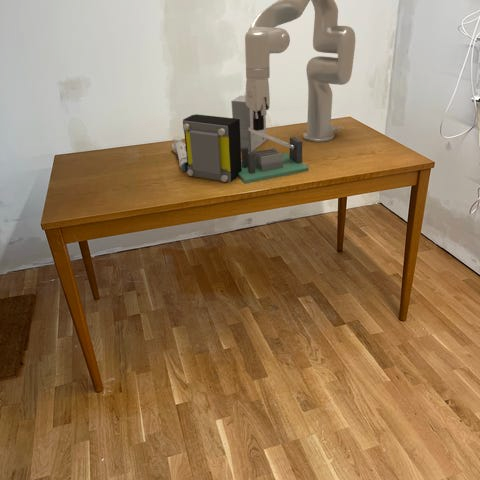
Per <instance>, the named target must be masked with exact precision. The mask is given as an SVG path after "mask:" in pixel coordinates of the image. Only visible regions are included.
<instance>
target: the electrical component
mask: <svg viewBox="0 0 480 480" xmlns="http://www.w3.org/2000/svg"><path fill="white" fill-rule="evenodd" d="M182 130H183V134H184V143H185V145H186V147H185V150H186V154H187V163H188V166H187V168H188V171H186V172H187V173H186V174H187V175H188V176H191V177H198V178H203V179H208V180H209V179H210V180H212V181H213V180H214V181H220V182H224V183H232V182H233V181H235V180H237V179H238V178H239V177H238V173H239V172H241V171H242V167H241V162H242V154H241V142H240V119H235V118H232V117H224V116H216V115H215V116H214V115H205V114H197V113H196V114H191V115H189V116H187V117H185V118H183V119H182Z"/></svg>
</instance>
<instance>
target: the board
mask: <svg viewBox="0 0 480 480" xmlns="http://www.w3.org/2000/svg"><path fill="white" fill-rule="evenodd" d="M289 143H290V144H292V145H294V146H295V150H292V149H291V148H289V152H288V153H282V152H280V151H279V150H278V149H276V148H275V147H273V148H272V147H271V148H266V149H261V150H256V151H255V150H253V151H252V152H251V153H250V152H248V148H247V147H243V148H241V167H242V171H241V172H239V173H238V177H237V178H239V179H240V180H241V181H242V182H243V183H244V184H249V183H250V184H251V183H254V182H259V181H265V180H270V179H274V178H279V177H280V178H281V177H285V176H289V175H294V174H299V173H305V172H309V166H307V165H306V164H305V163H303V141H302V140H301V139H300V138H298V137H296V136H291V137H289Z"/></svg>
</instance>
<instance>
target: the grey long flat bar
mask: <svg viewBox="0 0 480 480" xmlns="http://www.w3.org/2000/svg"><path fill="white" fill-rule="evenodd" d="M248 130H249V131H250V132H252V133H255V134H257V135H259V136H262V137H264V138H266V140H267V139H268V140H270V141H272V142H274V143H277V144H279V145H282V146H285V147H287V148H289V149H290V148H291V149H292V150H295V146H294V145H292V144H290V141H289V142H287V141H284V140H282V139H279V138H277V137H274V136H273V135H272V136H271V135H270V134H267V133H266V134H265V133H262V132H260V131H256V130H254V129H253V128H250V127H249V129H248Z"/></svg>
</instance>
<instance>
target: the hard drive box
mask: <svg viewBox="0 0 480 480" xmlns="http://www.w3.org/2000/svg"><path fill="white" fill-rule="evenodd" d="M230 102H231V103H230V104H231V118H235V119H240V142H241V148H243V147H247V148H248V153H252V152H254V151H255V150H257V148H259V147H260V146H261V145H263V144H264V143H265V142H266V141H267V138H264V137H262V136H259V135H257V134H255V133H252V132H250V131H249V130H248V129H249V127H250V128H253V114H252V109H250V108H249V107H247V106H246V91H245V92H243V94H241V95H239V96H238V97H236V98H234V99H232V100H231V101H230ZM266 116H267V114H266V115H264V129H263V130H258V131H260V132H262V133H265V134H267V124H266V123H267V119H266ZM254 118H255V117H254Z"/></svg>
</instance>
